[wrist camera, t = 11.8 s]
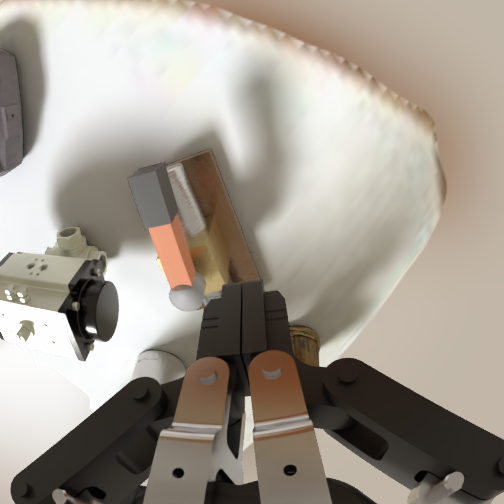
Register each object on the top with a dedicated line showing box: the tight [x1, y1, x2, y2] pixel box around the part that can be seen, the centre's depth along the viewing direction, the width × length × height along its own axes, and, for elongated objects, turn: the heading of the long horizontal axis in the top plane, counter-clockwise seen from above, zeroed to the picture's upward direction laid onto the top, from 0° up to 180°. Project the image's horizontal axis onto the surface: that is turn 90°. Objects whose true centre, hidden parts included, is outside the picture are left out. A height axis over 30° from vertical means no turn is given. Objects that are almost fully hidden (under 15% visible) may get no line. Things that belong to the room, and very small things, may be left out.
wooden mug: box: [289, 326, 320, 367], centre depth 40 cm, size 9×14×18 cm, turn 12°
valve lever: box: [128, 162, 206, 311], centre depth 26 cm, size 14×3×3 cm, turn 11°
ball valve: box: [0, 226, 119, 361], centre depth 31 cm, size 18×8×18 cm, turn 85°
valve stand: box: [156, 149, 260, 310], centre depth 34 cm, size 20×10×10 cm, turn 18°
